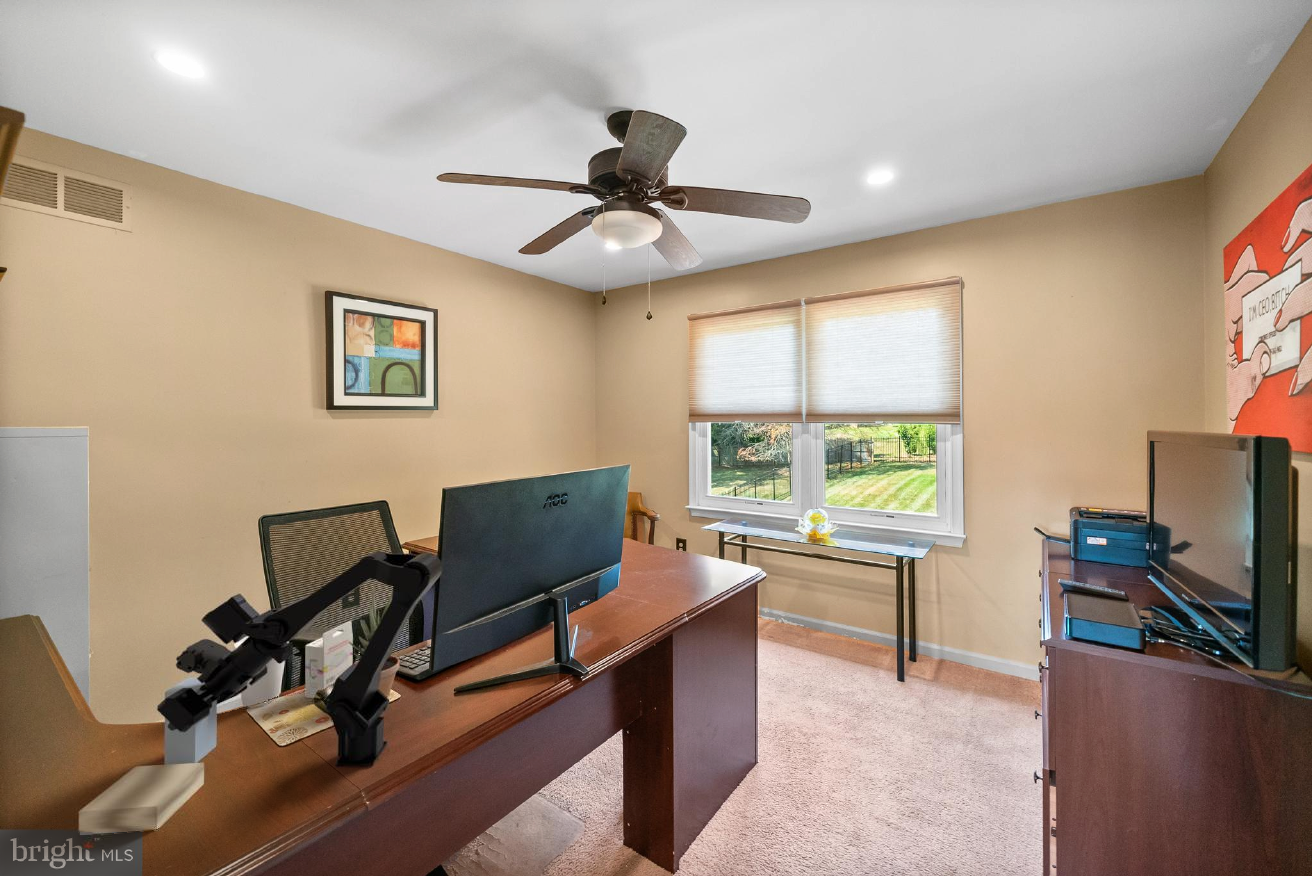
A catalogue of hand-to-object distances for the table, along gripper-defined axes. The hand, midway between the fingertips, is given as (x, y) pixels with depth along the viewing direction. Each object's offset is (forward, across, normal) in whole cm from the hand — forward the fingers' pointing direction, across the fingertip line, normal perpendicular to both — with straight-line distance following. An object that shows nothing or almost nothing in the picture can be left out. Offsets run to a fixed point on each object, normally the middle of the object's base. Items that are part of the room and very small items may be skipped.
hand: (183, 719), depth 94 cm
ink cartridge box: (-4, -23, +14) cm, 27 cm away
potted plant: (-12, -21, +22) cm, 32 cm away
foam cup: (+4, -19, +5) cm, 20 cm away
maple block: (+2, +13, +8) cm, 15 cm away
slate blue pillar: (+4, 0, +6) cm, 7 cm away
